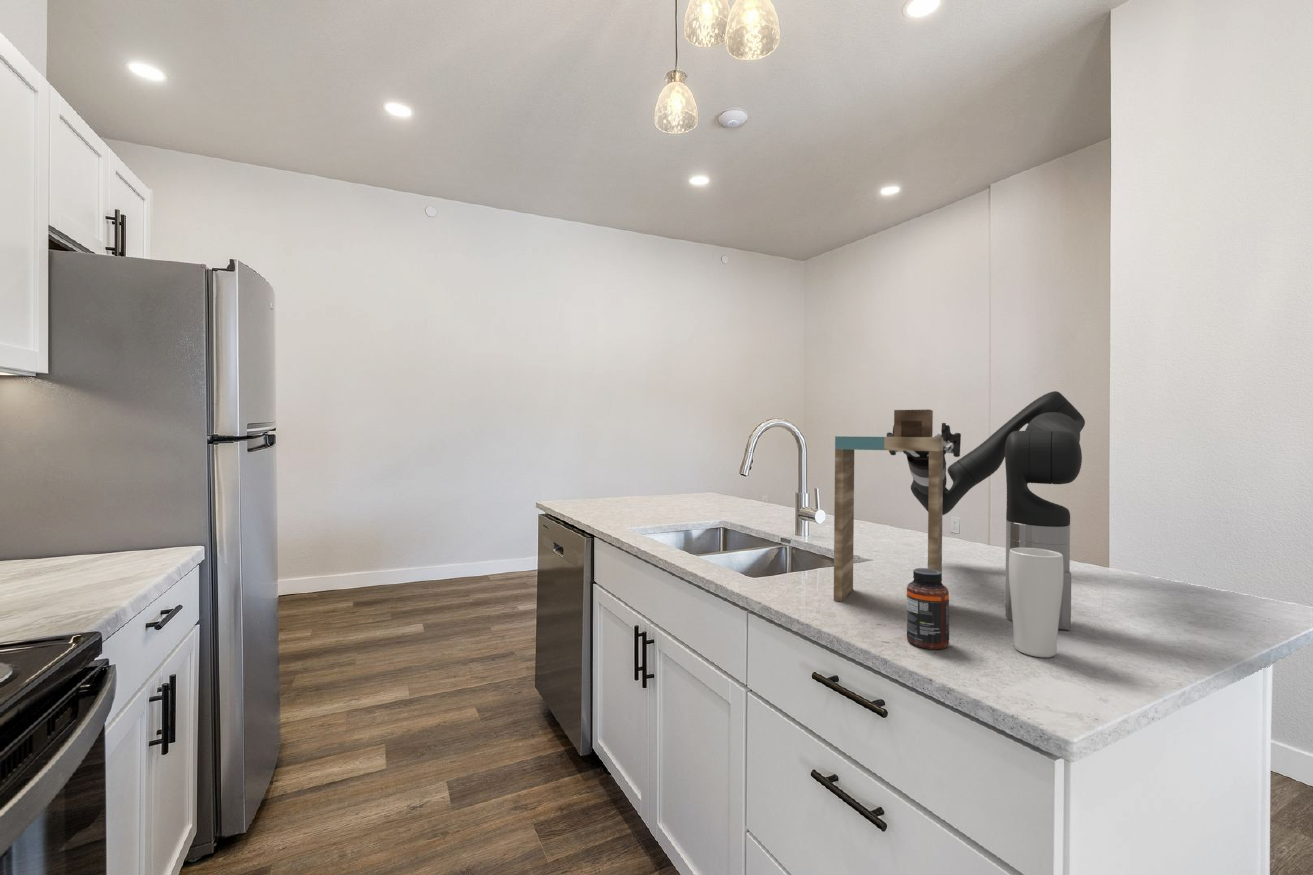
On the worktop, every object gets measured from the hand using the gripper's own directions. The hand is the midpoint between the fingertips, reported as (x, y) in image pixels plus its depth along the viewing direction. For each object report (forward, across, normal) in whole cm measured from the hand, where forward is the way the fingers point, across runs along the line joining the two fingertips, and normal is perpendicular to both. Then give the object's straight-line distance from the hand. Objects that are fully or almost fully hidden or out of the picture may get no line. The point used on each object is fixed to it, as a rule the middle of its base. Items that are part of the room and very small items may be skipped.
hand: (919, 426), depth 114 cm
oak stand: (-9, +4, -34) cm, 36 cm away
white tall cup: (+4, -19, -42) cm, 46 cm away
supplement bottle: (+8, -5, -44) cm, 45 cm away
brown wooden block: (+3, 0, -4) cm, 5 cm away
